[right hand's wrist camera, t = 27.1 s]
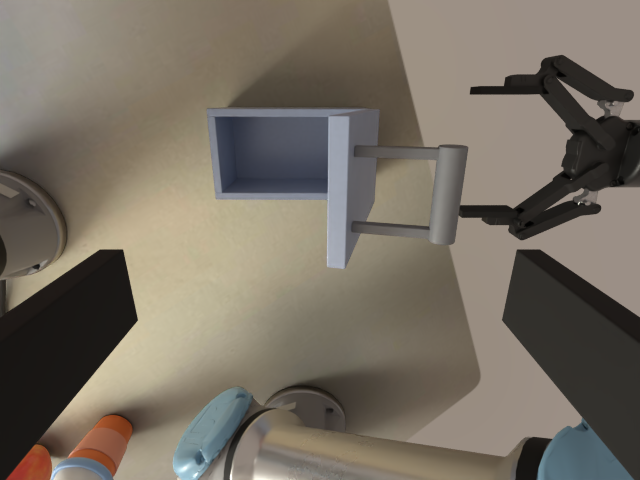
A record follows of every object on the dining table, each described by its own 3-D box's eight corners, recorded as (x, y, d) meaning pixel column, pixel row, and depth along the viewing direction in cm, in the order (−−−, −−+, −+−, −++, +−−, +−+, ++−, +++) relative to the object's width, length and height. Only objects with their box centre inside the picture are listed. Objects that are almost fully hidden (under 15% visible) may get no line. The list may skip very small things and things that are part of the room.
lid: (326, 267, 25) (454, 281, 23) (328, 115, 22) (478, 117, 20) (363, 201, 42) (439, 206, 40) (367, 109, 38) (451, 109, 36)
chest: (233, 183, 51) (215, 199, 42) (226, 107, 47) (206, 108, 39) (360, 183, 51) (368, 199, 42) (363, 107, 47) (372, 108, 39)
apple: (10, 460, 70) (-38, 516, 60) (14, 425, 66) (-36, 478, 57) (62, 473, 71) (23, 529, 61) (68, 439, 68) (27, 493, 58)
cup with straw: (134, 406, 65) (69, 514, 48) (146, 444, 68) (89, 557, 51) (84, 409, 65) (2, 517, 48) (98, 446, 68) (26, 559, 51)
